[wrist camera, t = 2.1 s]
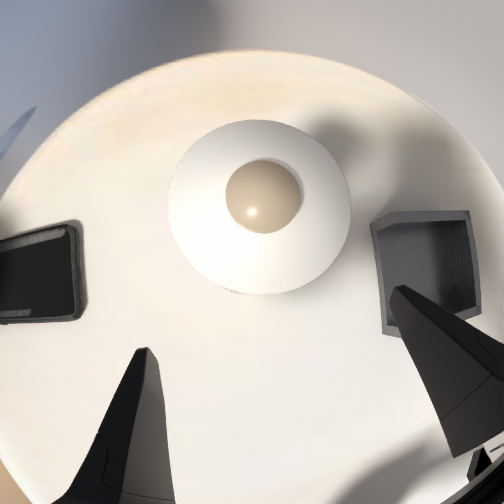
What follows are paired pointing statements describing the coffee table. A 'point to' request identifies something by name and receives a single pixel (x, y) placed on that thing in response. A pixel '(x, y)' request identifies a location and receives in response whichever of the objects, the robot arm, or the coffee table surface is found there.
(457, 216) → the tray
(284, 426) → the coffee table surface
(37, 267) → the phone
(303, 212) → the paper roll
